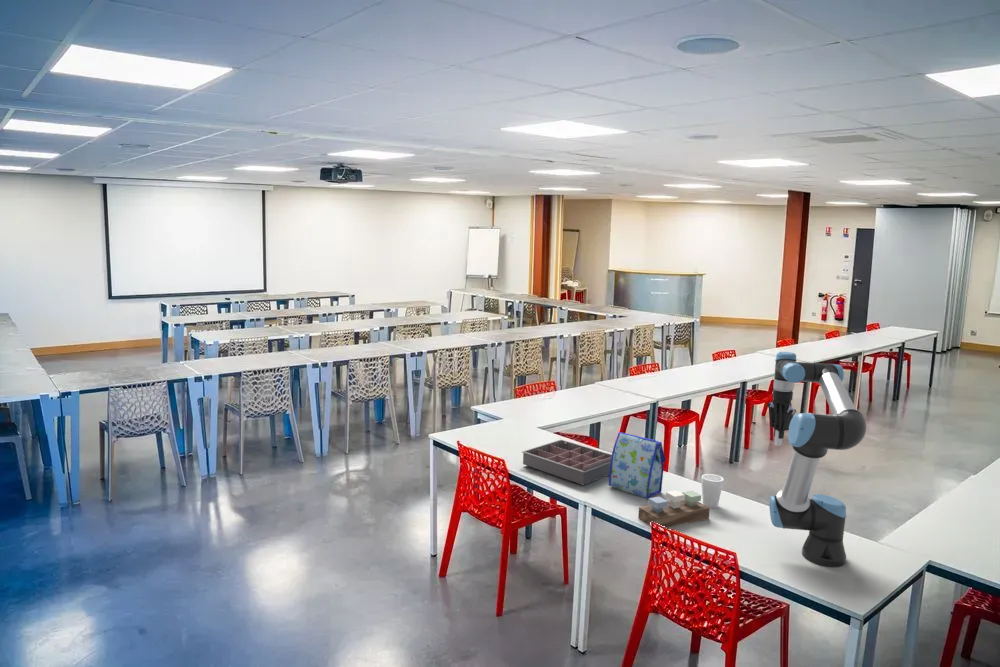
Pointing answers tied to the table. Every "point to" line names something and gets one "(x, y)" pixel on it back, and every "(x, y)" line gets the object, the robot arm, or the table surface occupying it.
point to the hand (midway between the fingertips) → (777, 445)
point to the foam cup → (711, 489)
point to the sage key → (691, 498)
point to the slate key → (658, 504)
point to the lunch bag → (637, 465)
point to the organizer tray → (569, 461)
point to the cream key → (675, 498)
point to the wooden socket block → (674, 514)
